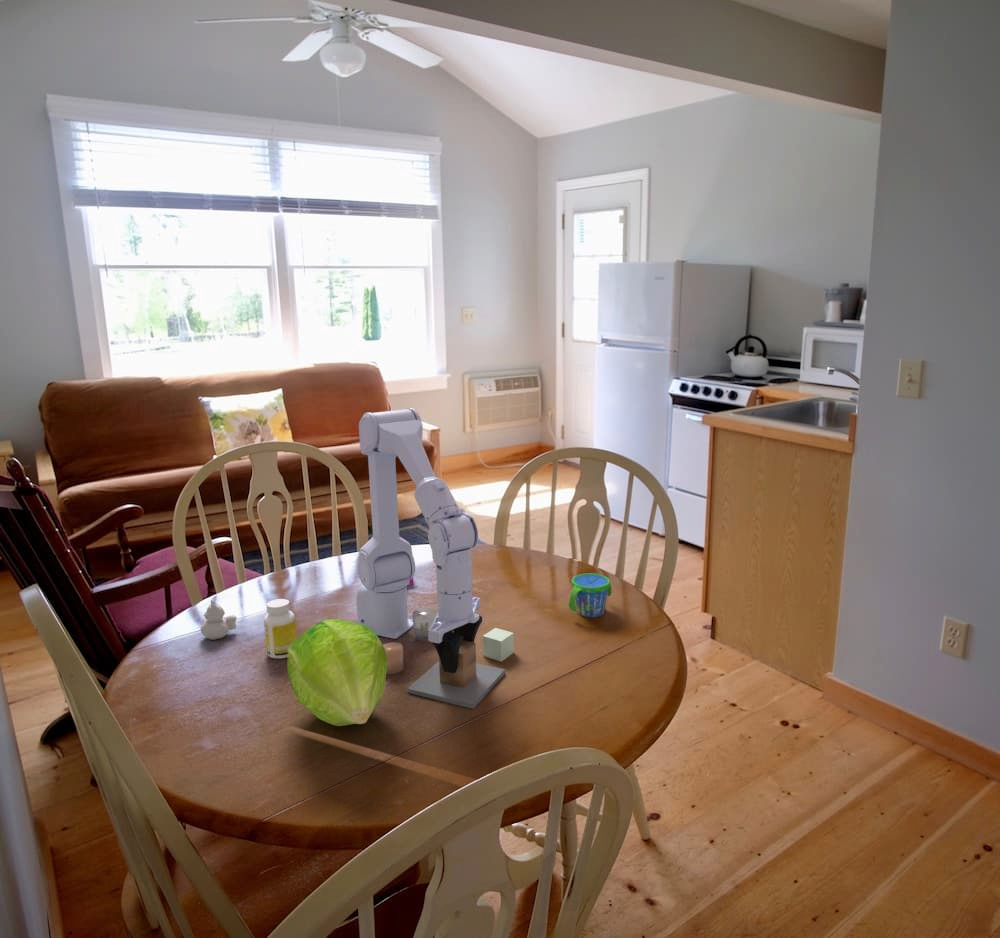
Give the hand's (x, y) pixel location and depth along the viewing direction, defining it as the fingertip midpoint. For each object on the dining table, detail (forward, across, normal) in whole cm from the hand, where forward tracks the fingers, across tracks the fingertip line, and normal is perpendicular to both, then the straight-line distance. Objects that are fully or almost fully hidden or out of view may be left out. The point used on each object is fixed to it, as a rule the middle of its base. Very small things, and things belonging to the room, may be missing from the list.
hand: (457, 664), depth 120 cm
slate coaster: (+3, 0, 0) cm, 3 cm away
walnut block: (+3, 0, 0) cm, 3 cm away
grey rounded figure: (+4, -3, +51) cm, 51 cm away
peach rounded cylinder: (+3, 0, +13) cm, 13 cm away
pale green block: (+4, +12, -2) cm, 13 cm away
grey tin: (+3, +13, +14) cm, 19 cm away
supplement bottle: (+4, -3, +35) cm, 35 cm away
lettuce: (+4, -18, +10) cm, 21 cm away
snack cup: (+4, +35, -12) cm, 37 cm away
